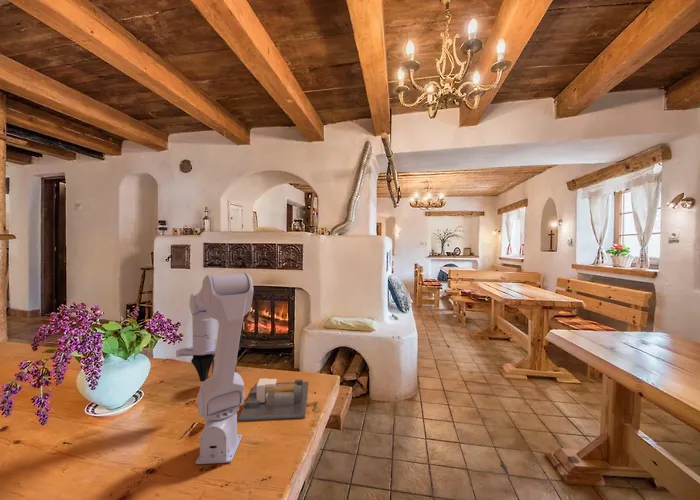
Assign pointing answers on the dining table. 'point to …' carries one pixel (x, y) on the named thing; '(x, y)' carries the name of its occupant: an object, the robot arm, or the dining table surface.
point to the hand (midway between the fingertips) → (203, 379)
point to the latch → (264, 388)
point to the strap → (281, 387)
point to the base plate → (277, 404)
